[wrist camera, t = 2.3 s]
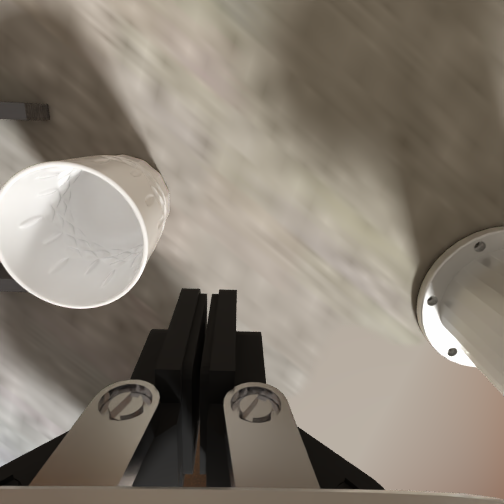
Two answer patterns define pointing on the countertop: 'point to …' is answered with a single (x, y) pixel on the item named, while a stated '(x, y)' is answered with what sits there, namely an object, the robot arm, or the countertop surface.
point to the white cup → (81, 227)
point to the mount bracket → (19, 111)
